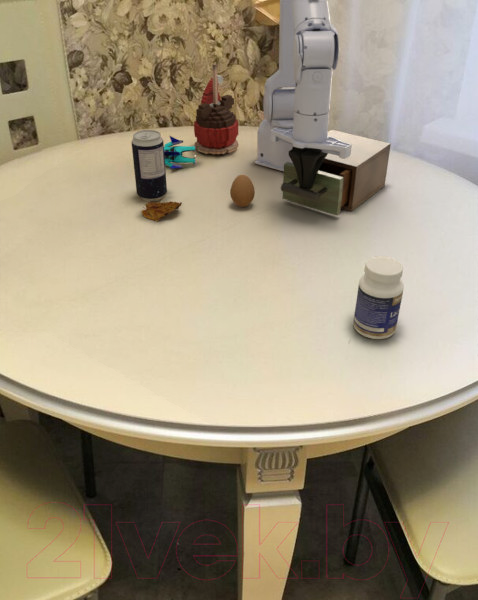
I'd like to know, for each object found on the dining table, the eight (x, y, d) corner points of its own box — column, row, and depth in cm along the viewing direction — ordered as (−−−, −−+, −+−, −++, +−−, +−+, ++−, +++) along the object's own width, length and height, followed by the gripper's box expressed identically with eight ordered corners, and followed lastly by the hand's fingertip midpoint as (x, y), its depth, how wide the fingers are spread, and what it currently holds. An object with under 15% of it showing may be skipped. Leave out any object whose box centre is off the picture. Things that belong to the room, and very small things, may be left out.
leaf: (158, 202, 115) (156, 194, 114) (188, 206, 112) (186, 198, 111) (137, 219, 111) (135, 211, 110) (168, 224, 107) (166, 216, 106)
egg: (225, 206, 113) (224, 176, 110) (240, 198, 116) (240, 168, 112) (244, 213, 111) (245, 182, 107) (259, 204, 114) (260, 174, 110)
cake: (217, 161, 130) (215, 73, 120) (184, 151, 135) (179, 66, 125) (248, 146, 137) (248, 62, 127) (216, 137, 142) (214, 55, 132)
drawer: (324, 224, 105) (328, 188, 101) (269, 206, 111) (270, 171, 107) (369, 191, 116) (373, 156, 112) (317, 176, 122) (319, 143, 118)
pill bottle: (395, 343, 81) (407, 279, 75) (351, 338, 81) (360, 274, 76) (395, 317, 85) (407, 255, 79) (354, 312, 86) (362, 251, 80)
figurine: (197, 139, 129) (140, 140, 130) (193, 135, 123) (134, 135, 124) (197, 171, 129) (141, 172, 130) (193, 168, 124) (134, 168, 124)
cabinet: (351, 211, 111) (356, 166, 106) (292, 193, 117) (294, 150, 112) (384, 186, 120) (391, 143, 115) (328, 170, 126) (331, 129, 121)
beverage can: (172, 192, 118) (168, 131, 111) (159, 204, 114) (154, 141, 107) (145, 188, 119) (139, 127, 113) (131, 200, 115) (125, 138, 108)
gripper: (260, 108, 101) (259, 186, 108) (339, 125, 93) (331, 207, 101) (284, 98, 105) (281, 173, 113) (360, 113, 98) (352, 193, 106)
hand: (306, 188), depth 107 cm, fingers closed, pressing on drawer
